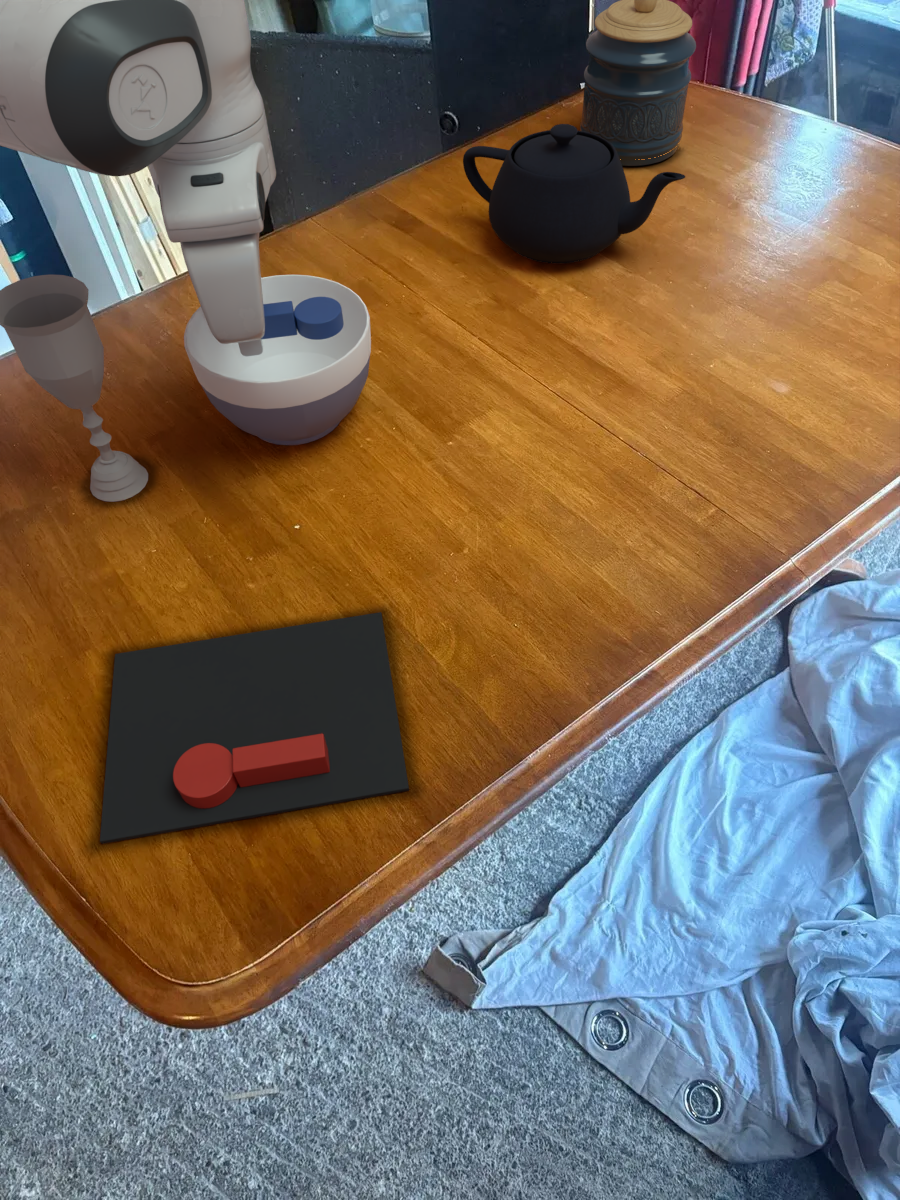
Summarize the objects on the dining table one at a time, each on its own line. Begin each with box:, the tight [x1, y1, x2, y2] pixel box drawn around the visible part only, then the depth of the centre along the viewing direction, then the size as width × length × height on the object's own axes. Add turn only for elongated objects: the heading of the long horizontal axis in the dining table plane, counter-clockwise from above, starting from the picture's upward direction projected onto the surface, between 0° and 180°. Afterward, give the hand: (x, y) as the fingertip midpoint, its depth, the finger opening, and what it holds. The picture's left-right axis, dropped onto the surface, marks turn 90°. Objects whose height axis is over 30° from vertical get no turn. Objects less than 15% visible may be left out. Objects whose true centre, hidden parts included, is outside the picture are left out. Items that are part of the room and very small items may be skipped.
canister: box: [579, 0, 697, 167], centre depth 108 cm, size 13×13×18 cm
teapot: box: [462, 123, 686, 265], centre depth 96 cm, size 25×16×12 cm, turn 63°
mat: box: [99, 611, 410, 845], centre depth 62 cm, size 20×15×1 cm
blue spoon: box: [262, 297, 344, 340], centre depth 75 cm, size 10×4×2 cm, turn 99°
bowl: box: [183, 274, 372, 446], centre depth 80 cm, size 16×16×10 cm
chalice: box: [0, 274, 149, 503], centre depth 72 cm, size 7×7×18 cm
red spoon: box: [173, 734, 330, 808], centre depth 59 cm, size 10×4×2 cm, turn 100°
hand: (251, 325), depth 75 cm, fingers open, 6 cm apart
